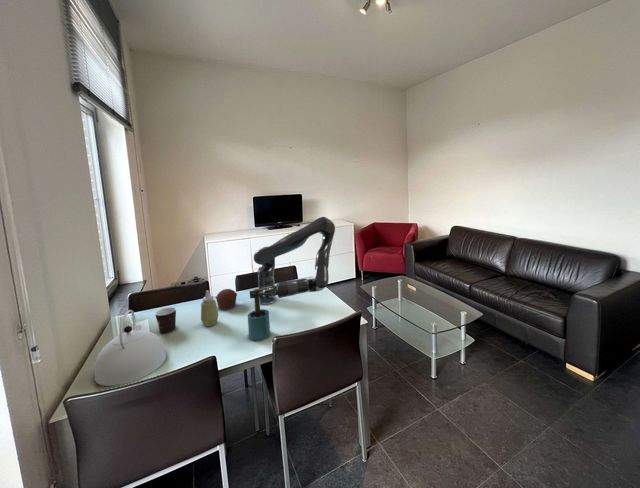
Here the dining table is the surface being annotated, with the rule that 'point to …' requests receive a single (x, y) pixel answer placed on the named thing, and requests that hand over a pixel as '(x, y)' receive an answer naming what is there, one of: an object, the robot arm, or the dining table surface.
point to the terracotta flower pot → (226, 299)
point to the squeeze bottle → (209, 310)
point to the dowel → (257, 305)
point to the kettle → (129, 356)
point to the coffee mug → (166, 319)
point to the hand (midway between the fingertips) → (250, 294)
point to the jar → (259, 326)
